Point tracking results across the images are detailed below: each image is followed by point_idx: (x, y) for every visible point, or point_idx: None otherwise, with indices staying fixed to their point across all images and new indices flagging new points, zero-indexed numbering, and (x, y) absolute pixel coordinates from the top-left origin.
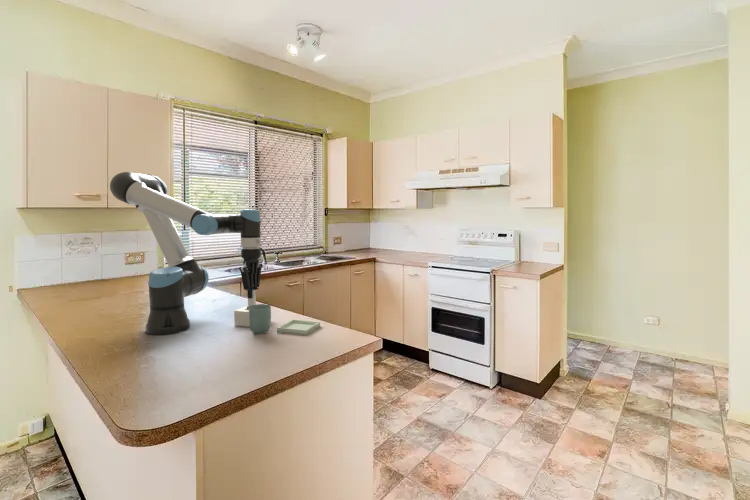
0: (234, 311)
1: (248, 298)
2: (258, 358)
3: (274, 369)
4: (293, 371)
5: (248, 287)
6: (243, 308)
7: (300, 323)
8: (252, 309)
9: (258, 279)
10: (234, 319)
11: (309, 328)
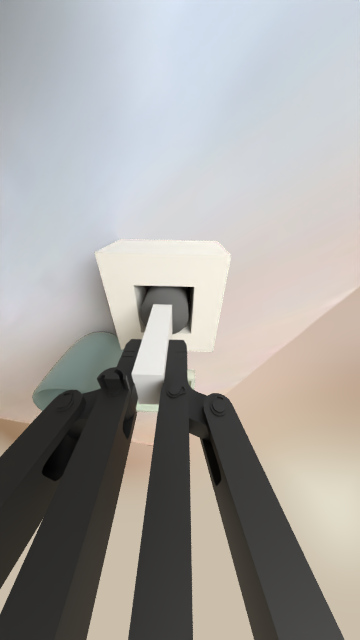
0: (96, 253)
1: (145, 331)
2: (14, 389)
3: (11, 410)
4: (25, 421)
5: (63, 438)
6: (153, 271)
7: (190, 385)
8: (35, 400)
9: (221, 513)
10: (112, 243)
11: (147, 411)
